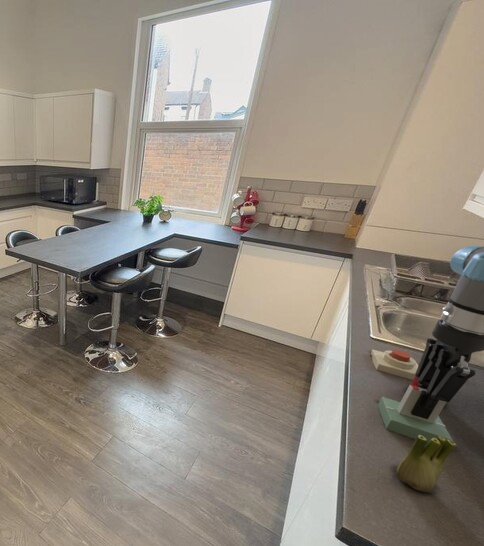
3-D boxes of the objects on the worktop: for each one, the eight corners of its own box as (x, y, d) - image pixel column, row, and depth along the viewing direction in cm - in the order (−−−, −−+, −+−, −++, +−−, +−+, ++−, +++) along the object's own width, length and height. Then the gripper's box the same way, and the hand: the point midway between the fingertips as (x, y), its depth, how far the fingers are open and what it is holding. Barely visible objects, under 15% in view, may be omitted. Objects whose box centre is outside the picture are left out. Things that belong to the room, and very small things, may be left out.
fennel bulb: (392, 481, 62) (418, 437, 57) (390, 464, 65) (414, 421, 61) (435, 501, 58) (466, 456, 54) (429, 481, 62) (458, 438, 57)
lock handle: (430, 419, 73) (445, 393, 70) (433, 423, 72) (449, 397, 69) (396, 409, 75) (409, 384, 73) (399, 413, 74) (412, 388, 71)
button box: (412, 366, 96) (417, 355, 95) (422, 382, 89) (428, 371, 88) (369, 355, 101) (374, 344, 100) (376, 369, 94) (381, 359, 93)
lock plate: (432, 422, 76) (438, 413, 74) (447, 450, 69) (454, 440, 67) (376, 405, 81) (381, 395, 79) (385, 429, 74) (390, 419, 72)
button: (406, 357, 94) (408, 352, 94) (410, 364, 91) (412, 359, 91) (388, 352, 96) (390, 348, 96) (392, 359, 93) (394, 354, 93)
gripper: (424, 307, 72) (384, 387, 81) (459, 338, 60) (408, 428, 69) (470, 315, 69) (424, 398, 77) (517, 350, 57) (456, 443, 65)
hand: (416, 412), depth 73 cm, fingers closed on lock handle, 2 cm apart
